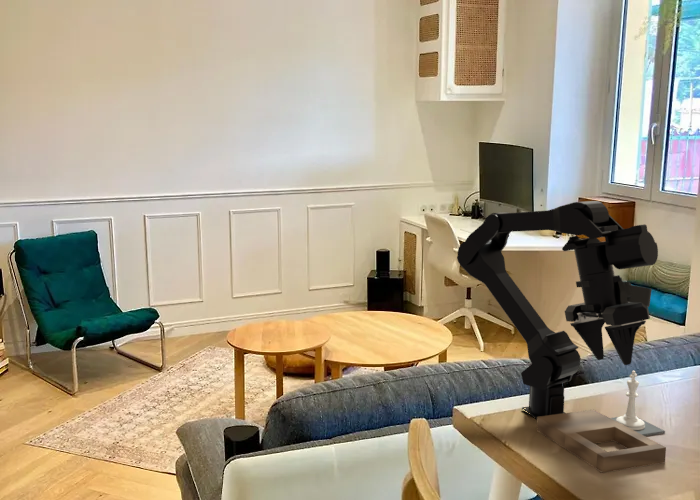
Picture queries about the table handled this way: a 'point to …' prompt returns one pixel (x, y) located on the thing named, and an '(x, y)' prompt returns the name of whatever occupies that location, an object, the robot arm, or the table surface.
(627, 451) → the brown slab with hole
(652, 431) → the rubber mat
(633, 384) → the chess piece
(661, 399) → the table surface
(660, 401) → the table surface
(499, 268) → the robot arm
